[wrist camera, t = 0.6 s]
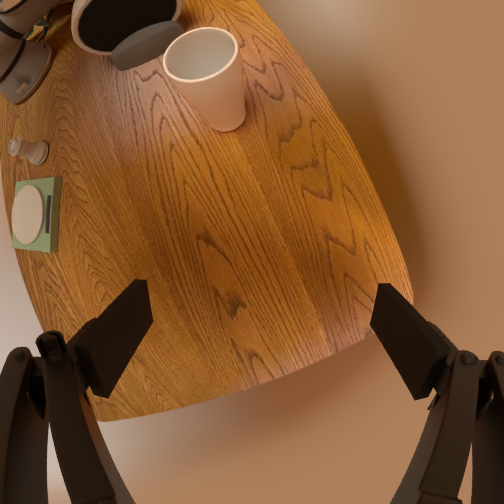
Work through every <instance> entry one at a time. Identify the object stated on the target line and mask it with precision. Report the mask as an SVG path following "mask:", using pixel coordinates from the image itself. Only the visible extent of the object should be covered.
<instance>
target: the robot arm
mask: <svg viewBox="0 0 504 504" xmlns="http://www.w3.org/2000/svg"><path fill="white" fill-rule="evenodd" d="M59 1H60V0H0V93H1V94H2V95H3V96H4V97H5V98H6V100H7V101H8V102H10V103H12V104H15V105H18V104H21V103H23V102H24V101H26V100H27V99H28V98H29V97H30V96H31V95H32V94H33V93H34V92H35V91H36V89H37V88H38V87H39V85H40V84H41V83H42V81H43V80H44V78H45V76H46V75H47V73H48V71H49V69H50V67H51V65H52V62H53V59H54V49H53V48H52V47H51V46H50V45H48V44H45V43H40V41H41V40H42V39H43V38H44V36H45V34H46V30H47V27H45V26H44V31H43V34H42V36H41V38H40V39H39V40H38V41H37V42H34V41H28V40H26V39H24V38H23V36H24V35H25V34H26V33H27V32H28V31H29V30H30V29H31V28H32V27H33V26H34V24H35V23H36V22H37V21H38V20H40V19H41V18H42V17H43V16H44V15H45V14H46V13H47V12H48V11H49V10H50V9H51V8H52V7H53V6H55V5H56V4H57V3H58V2H59ZM52 11H53V9H52V10H50V12H49V14H48V16H47V18H46V22H48V20H49V17H50V15H51V13H52ZM152 323H153V318H152V312H151V306H150V299H149V293H148V286H147V280H139V279H135V280H134V281H133V282H132V283H131V284H130V285H129V286H128V287H127V288H126V289H125V290H124V291H123V292H122V293H121V294H120V295H119V296H118V297H117V298H116V299H115V300H114V301H113V302H112V303H111V304H110V305H109V306H108V307H107V308H106V310H105V311H104V312H103V313H102V314H101V315H100V316H99V317H98V318H93V319H91V320H90V321H88V322H86V323H85V324H84V325H83V327H82V328H81V329H80V330H79V331H78V332H77V334H75V335H74V336H73V337H72V338H71V339H70V341H69V342H68V343H67V344H66V343H65V341H64V338H63V335H62V333H61V332H59V331H54V330H53V331H47V332H45V333H43V334H41V335H39V337H38V338H37V339H36V345H37V347H38V350H39V352H40V354H41V357H33V356H32V354H31V352H30V350H29V349H28V348H27V347H17V348H15V349H13V350H12V351H11V352H10V353H9V355H8V357H7V359H6V362H5V364H4V367H3V369H2V372H1V374H0V504H48V491H47V443H48V428H49V422H50V428H51V433H52V438H53V442H54V446H55V451H56V455H57V459H58V462H59V466H60V469H61V473H62V476H63V479H64V482H65V485H66V488H67V491H68V494H69V497H70V499H71V503H72V504H136V503H135V502H134V500H133V498H132V497H131V495H130V493H129V491H128V489H127V488H126V486H125V484H124V482H123V480H122V478H121V476H120V474H119V472H118V470H117V468H116V466H115V464H114V462H113V460H112V457H111V455H110V453H109V451H108V448H107V446H106V444H105V441H104V439H103V437H102V434H101V431H100V429H99V426H98V423H97V421H96V418H95V415H94V412H93V409H92V406H91V403H90V400H89V397H88V395H87V393H86V390H87V389H88V387H89V385H90V388H91V390H92V392H93V394H94V395H97V396H100V397H104V398H109V396H110V394H111V392H112V391H113V389H114V387H115V385H116V384H117V382H118V380H119V378H120V377H121V375H122V373H123V371H124V370H125V368H126V366H127V364H128V363H129V361H130V359H131V358H132V356H133V354H134V353H135V351H136V349H137V348H138V346H139V344H140V343H141V341H142V339H143V338H144V336H145V334H146V333H147V331H148V329H149V328H150V326H151V325H152ZM370 326H371V327H372V329H373V330H374V332H375V334H376V335H377V337H378V338H379V340H380V342H381V343H382V345H383V347H384V348H385V350H386V351H387V353H388V355H389V356H390V358H391V360H392V361H393V363H394V365H395V367H396V368H397V370H398V372H399V373H400V375H401V377H402V379H403V380H404V382H405V384H406V385H407V387H408V389H409V391H410V393H411V394H412V396H413V398H414V400H419V399H423V398H426V397H428V396H429V394H430V392H431V390H432V388H433V387H434V389H435V390H436V392H437V393H436V395H435V397H434V399H433V400H432V402H431V404H430V406H429V407H428V410H430V412H429V415H428V418H427V421H426V424H425V427H424V430H423V433H422V435H421V438H420V441H419V443H418V446H417V449H416V451H415V453H414V456H413V458H412V460H411V462H410V465H409V467H408V469H407V471H406V474H405V475H404V478H403V480H402V482H401V484H400V486H399V487H398V489H397V491H396V493H395V495H394V497H393V499H392V501H391V502H390V504H462V500H459V499H458V497H457V496H458V492H459V489H460V486H461V483H462V479H463V476H464V472H465V468H466V465H467V460H468V456H469V452H470V447H471V442H472V460H473V461H472V463H473V464H472V465H473V470H472V471H473V472H472V473H473V474H472V496H471V504H504V353H503V352H500V351H493V352H492V353H491V355H490V357H489V359H488V360H479V359H478V357H477V356H476V355H475V354H473V353H471V352H469V351H465V350H462V351H459V350H458V349H457V348H456V347H455V345H454V344H453V343H452V342H451V341H450V340H449V339H448V338H447V337H446V335H445V334H444V333H442V331H441V330H440V329H439V328H438V327H437V326H436V325H434V324H432V323H431V322H429V321H428V322H427V321H426V320H425V319H424V318H423V317H422V316H421V315H420V314H419V313H418V312H417V310H416V309H415V308H414V307H413V306H412V305H411V304H410V303H409V302H408V301H407V300H406V299H405V298H404V297H403V296H402V295H401V294H400V293H399V292H398V291H397V290H396V289H395V288H394V287H393V286H392V285H391V284H390V283H379V285H378V290H377V295H376V300H375V304H374V309H373V313H372V318H371V322H370ZM492 396H493V399H492ZM430 408H431V409H430Z"/></svg>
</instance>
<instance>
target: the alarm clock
mask: <svg viewBox="0 0 504 504" xmlns="http://www.w3.org/2000/svg"><path fill="white" fill-rule="evenodd" d="M182 5H183V0H75V2H74V5H73V10H72V19H71V31H72V35H73V39H74V41H75V42H76V43H77V45H78V46H79V47H80V48H82V49H83V50H85V51H87V52H89V53H93V54H97V55H111V59H112V61H113V62H114V64H115V65H116V67H117V69H118V70H119V71H123V70H127V69H130V68H133V67H136V66H138V65H141V64H143V63H145V62H148V61H150V60H152V59H154V58H156V57H158V56H159V55H161V54H163V53H165V52H166V50H167V48H168V47H169V45H170V44H171V43H172V42H173V41H174V40H175V39H177V38H178V37H179V36H181V35H182V34H184V33H186V31H185V29H184V27H183V25H182V23H181V21H180V19H179V15H180V13H181V10H182Z"/></svg>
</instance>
